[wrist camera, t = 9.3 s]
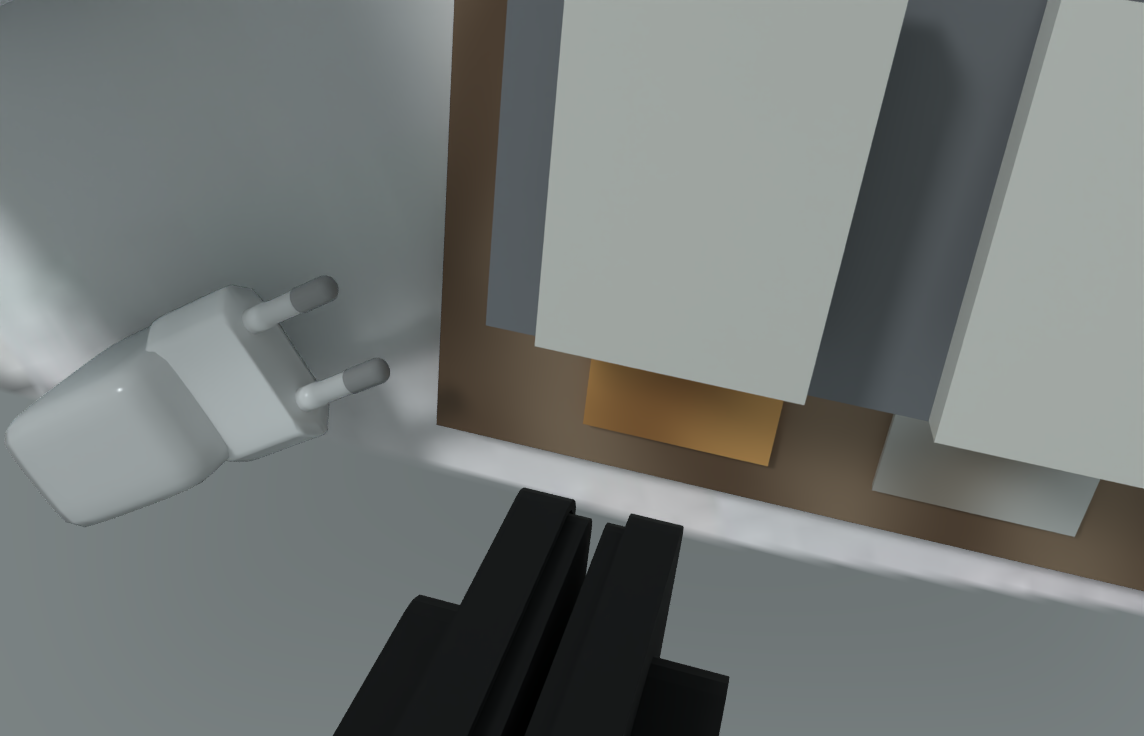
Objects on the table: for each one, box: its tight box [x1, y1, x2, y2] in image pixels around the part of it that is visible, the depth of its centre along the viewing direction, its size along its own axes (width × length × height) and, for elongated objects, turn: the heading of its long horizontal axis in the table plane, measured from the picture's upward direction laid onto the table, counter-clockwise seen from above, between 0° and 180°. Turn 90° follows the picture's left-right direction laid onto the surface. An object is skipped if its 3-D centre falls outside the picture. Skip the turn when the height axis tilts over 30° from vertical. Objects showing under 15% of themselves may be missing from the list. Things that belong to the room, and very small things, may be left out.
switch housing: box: [486, 0, 1144, 422], centre depth 21 cm, size 25×10×5 cm, turn 84°
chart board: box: [437, 0, 1144, 591], centre depth 24 cm, size 30×20×1 cm, turn 84°
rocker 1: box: [535, 0, 908, 405], centre depth 20 cm, size 6×8×1 cm
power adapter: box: [4, 275, 390, 527], centre depth 30 cm, size 11×5×6 cm, turn 118°
